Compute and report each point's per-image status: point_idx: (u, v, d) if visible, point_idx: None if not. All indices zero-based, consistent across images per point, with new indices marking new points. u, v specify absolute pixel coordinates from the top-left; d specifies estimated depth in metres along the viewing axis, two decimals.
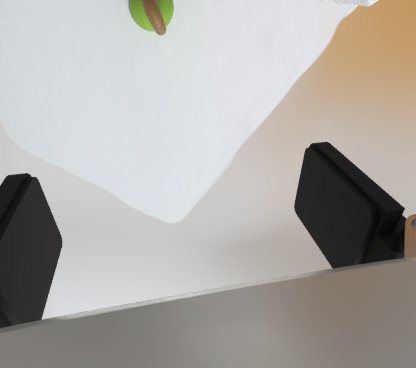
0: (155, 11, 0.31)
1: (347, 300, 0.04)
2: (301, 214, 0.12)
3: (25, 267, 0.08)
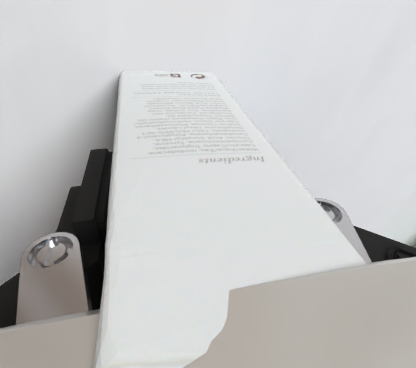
0: None
1: (346, 300, 0.04)
2: None
3: None
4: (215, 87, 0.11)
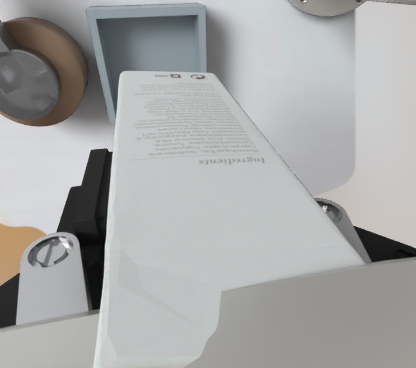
0: None
1: (346, 300, 0.04)
2: None
3: None
4: (215, 88, 0.11)
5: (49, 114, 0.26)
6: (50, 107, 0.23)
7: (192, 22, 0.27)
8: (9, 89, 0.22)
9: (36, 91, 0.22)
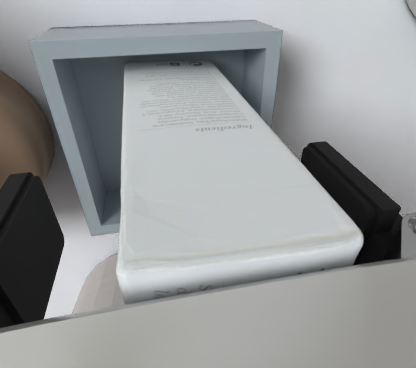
0: None
1: (346, 300, 0.04)
2: None
3: (28, 265, 0.08)
4: (211, 72, 0.12)
5: None
6: None
7: (243, 55, 0.15)
8: None
9: None
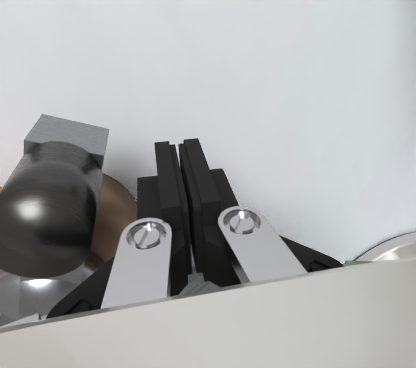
0: None
1: (346, 300, 0.04)
2: None
3: None
4: None
5: None
6: None
7: None
8: (30, 314, 0.13)
9: None
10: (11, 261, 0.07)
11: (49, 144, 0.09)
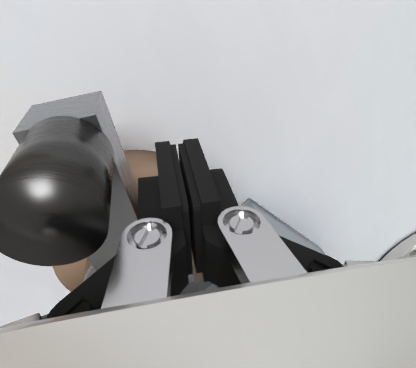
0: None
1: (346, 301, 0.04)
2: None
3: None
4: None
5: None
6: None
7: None
8: None
9: None
10: (38, 253, 0.07)
11: (35, 125, 0.08)
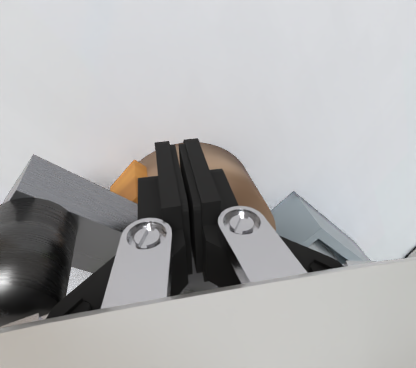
0: None
1: (346, 300, 0.04)
2: None
3: None
4: None
5: None
6: None
7: (341, 255, 0.24)
8: None
9: None
10: None
11: None
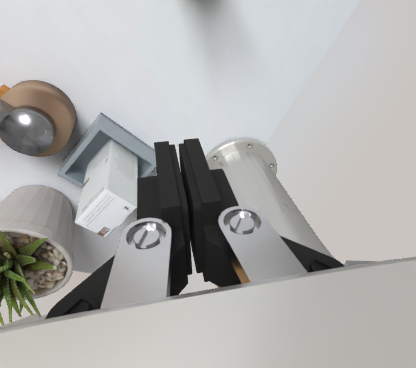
0: None
1: (346, 300, 0.04)
2: None
3: None
4: (135, 158, 0.40)
5: None
6: (50, 138, 0.33)
7: None
8: (22, 138, 0.32)
9: (36, 131, 0.32)
10: None
11: None
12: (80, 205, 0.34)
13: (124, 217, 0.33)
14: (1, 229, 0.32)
